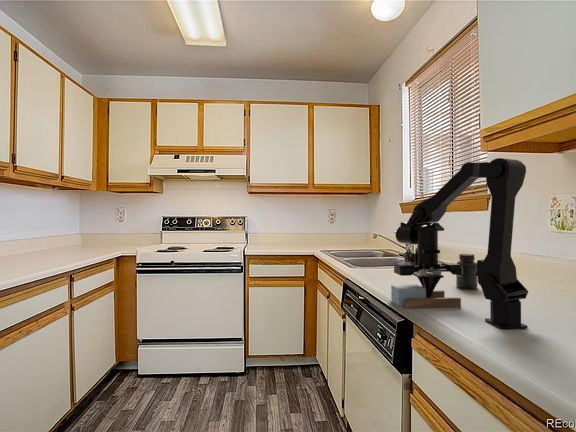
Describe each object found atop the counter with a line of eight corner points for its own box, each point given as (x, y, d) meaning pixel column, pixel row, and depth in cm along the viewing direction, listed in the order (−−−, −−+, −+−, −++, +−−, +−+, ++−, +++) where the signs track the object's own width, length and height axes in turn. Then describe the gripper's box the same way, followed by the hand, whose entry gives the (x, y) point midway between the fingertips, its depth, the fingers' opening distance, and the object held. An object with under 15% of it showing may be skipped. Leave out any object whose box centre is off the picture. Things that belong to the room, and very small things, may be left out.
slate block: (425, 305, 100) (425, 288, 100) (398, 306, 100) (398, 289, 100) (417, 300, 106) (416, 284, 106) (391, 301, 106) (391, 284, 106)
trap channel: (460, 307, 98) (460, 298, 98) (405, 308, 98) (405, 299, 98) (442, 298, 109) (442, 290, 109) (392, 299, 108) (392, 291, 108)
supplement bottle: (453, 287, 124) (453, 254, 123) (460, 285, 128) (459, 252, 128) (474, 290, 119) (473, 256, 119) (480, 287, 123) (480, 254, 123)
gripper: (444, 242, 112) (444, 291, 112) (387, 243, 111) (388, 292, 111) (463, 246, 101) (464, 299, 101) (400, 247, 100) (401, 301, 100)
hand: (427, 297), depth 103 cm, fingers closed
